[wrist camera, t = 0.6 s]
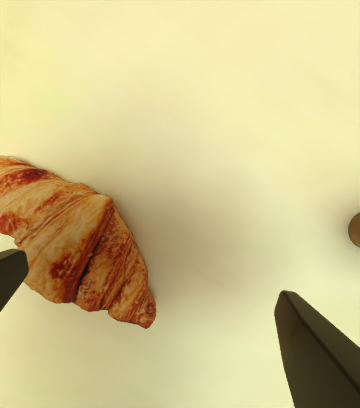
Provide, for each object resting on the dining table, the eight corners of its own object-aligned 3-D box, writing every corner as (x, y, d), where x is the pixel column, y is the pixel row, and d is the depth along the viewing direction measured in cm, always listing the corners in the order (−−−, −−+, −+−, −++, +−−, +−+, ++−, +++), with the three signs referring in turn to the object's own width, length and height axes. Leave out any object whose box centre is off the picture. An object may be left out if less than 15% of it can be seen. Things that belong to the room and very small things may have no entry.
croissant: (22, 183, 26) (-68, 210, 20) (39, 112, 21) (-78, 116, 14) (148, 309, 26) (99, 381, 19) (202, 270, 20) (159, 353, 13)
